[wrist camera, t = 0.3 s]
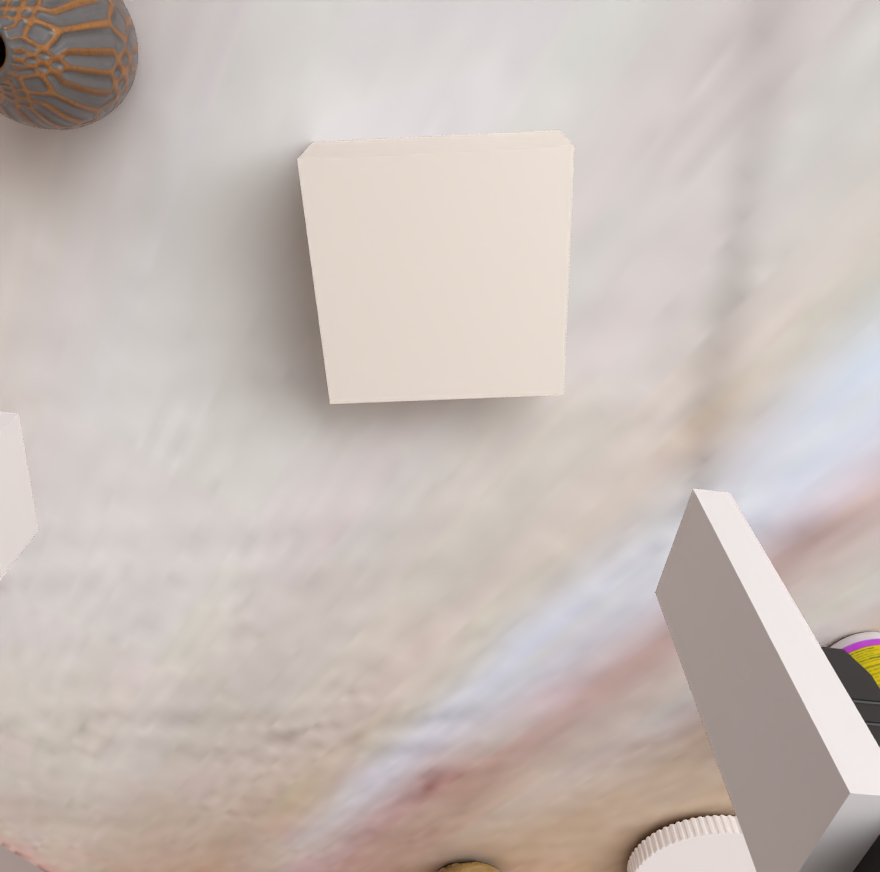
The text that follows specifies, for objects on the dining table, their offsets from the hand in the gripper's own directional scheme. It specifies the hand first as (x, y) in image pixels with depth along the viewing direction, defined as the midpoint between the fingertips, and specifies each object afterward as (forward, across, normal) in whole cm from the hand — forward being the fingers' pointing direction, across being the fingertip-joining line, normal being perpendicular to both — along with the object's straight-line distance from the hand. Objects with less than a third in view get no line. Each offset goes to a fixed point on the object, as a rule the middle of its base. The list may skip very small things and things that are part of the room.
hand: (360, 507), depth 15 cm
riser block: (+27, +2, -3) cm, 27 cm away
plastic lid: (+27, +32, -53) cm, 68 cm away
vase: (+27, -16, +5) cm, 31 cm away
